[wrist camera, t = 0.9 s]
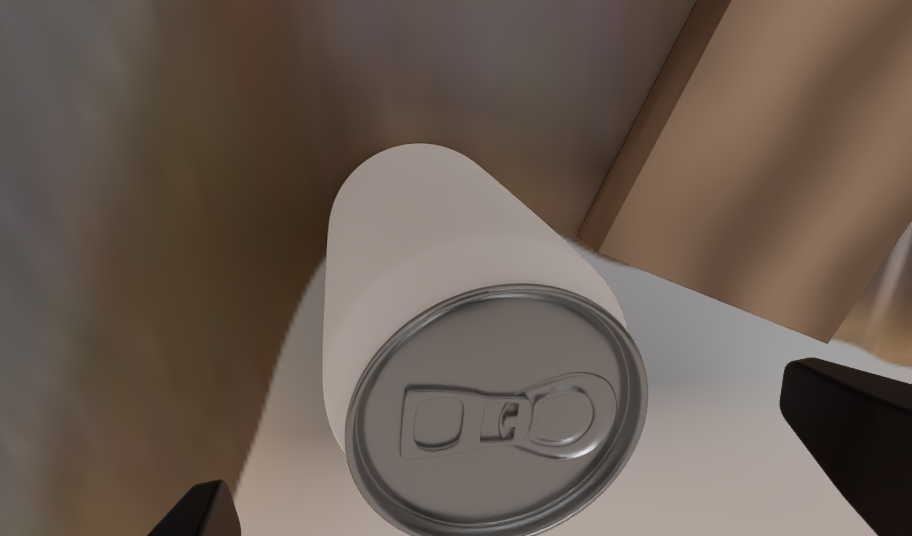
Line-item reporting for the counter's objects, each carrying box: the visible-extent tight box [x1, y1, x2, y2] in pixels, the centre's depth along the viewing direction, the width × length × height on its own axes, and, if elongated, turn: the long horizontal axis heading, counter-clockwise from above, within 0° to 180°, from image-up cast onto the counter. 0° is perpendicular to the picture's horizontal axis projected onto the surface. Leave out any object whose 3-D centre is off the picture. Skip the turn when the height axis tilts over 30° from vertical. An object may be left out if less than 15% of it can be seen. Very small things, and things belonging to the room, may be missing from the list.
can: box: [322, 143, 648, 536], centre depth 16 cm, size 6×6×12 cm
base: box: [577, 0, 912, 344], centre depth 22 cm, size 12×12×2 cm
